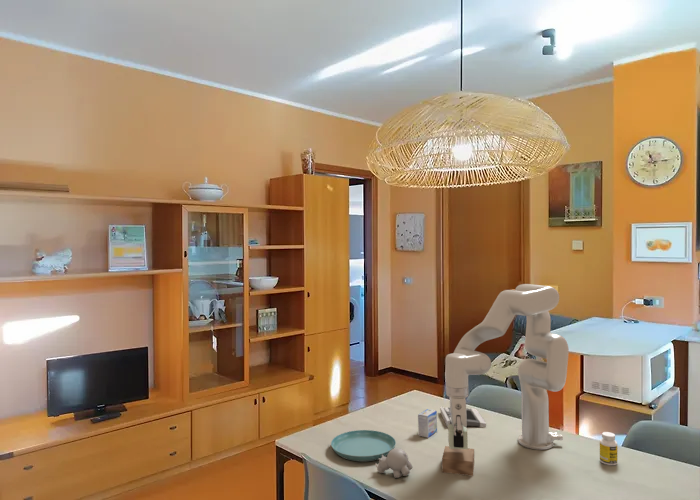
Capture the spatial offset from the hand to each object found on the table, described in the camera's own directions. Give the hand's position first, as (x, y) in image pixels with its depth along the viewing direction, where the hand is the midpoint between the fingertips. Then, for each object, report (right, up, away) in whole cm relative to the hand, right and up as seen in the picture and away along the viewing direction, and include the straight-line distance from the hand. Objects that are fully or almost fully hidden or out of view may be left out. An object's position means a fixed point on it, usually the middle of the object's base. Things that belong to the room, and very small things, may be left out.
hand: (457, 442), depth 169 cm
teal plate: (-32, -9, +16) cm, 37 cm away
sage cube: (0, -1, 0) cm, 1 cm away
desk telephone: (+12, -8, +43) cm, 45 cm away
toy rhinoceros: (-22, -10, -3) cm, 24 cm away
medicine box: (-6, -8, +29) cm, 31 cm away
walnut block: (0, -9, 0) cm, 9 cm away
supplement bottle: (+52, -7, +1) cm, 53 cm away
